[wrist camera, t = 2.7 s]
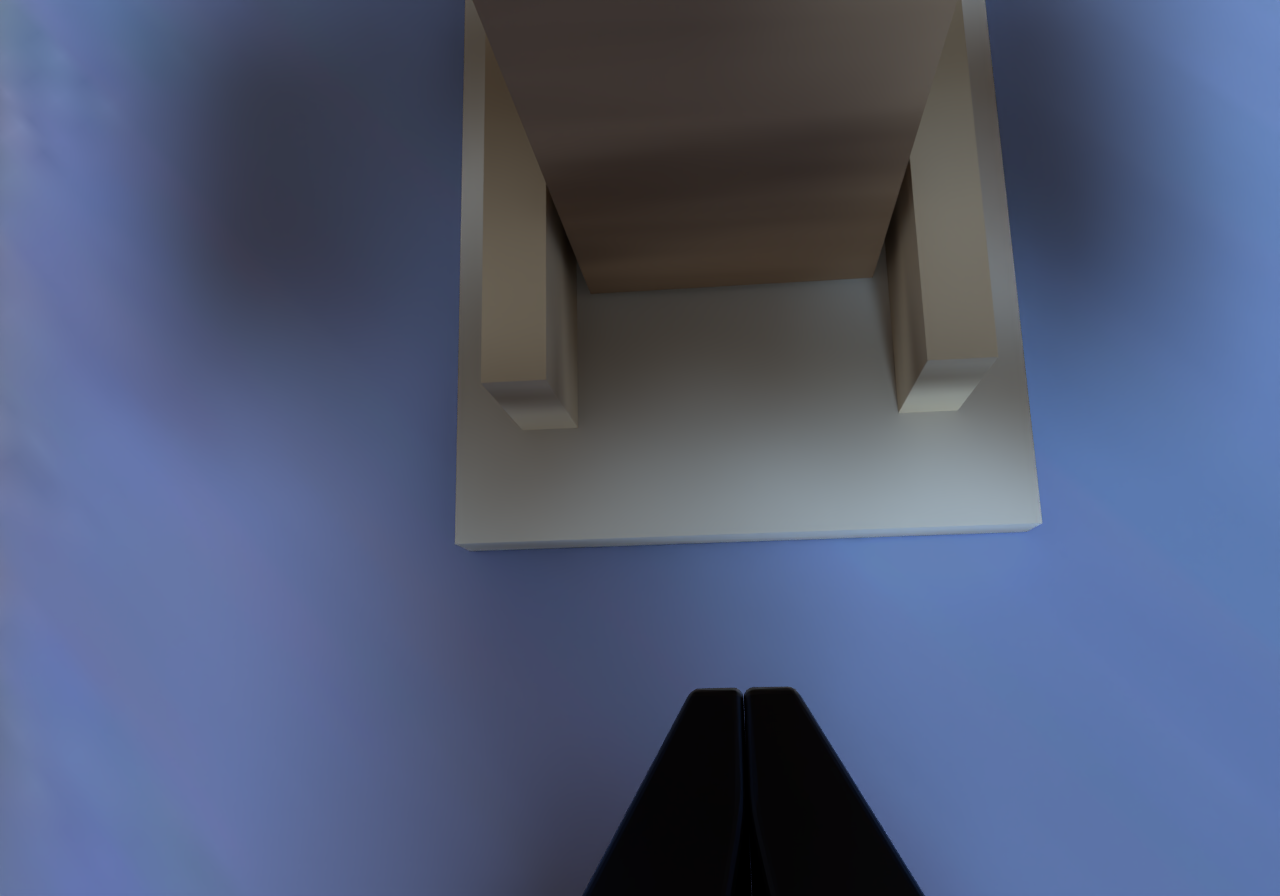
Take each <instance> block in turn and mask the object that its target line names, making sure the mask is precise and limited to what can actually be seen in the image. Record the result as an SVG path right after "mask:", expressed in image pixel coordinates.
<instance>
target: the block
mask: <svg viewBox="0 0 1280 896" xmlns="http://www.w3.org/2000/svg"><path fill="white" fill-rule="evenodd" d="M472 1H473V3H474V5H475V8H476V10H477V13H478V15H479V18H480V20H481V23H482V25H483V28H484V30H485V33H486V35H487V38H488V40H489V43H490V45H491V48H492V50H493V53H494V55H495V58H496V60H497V63H498V65H499V68H500V70H501V73H502V75H503V78H504V80H505V82H506V85H507V87H508V90H509V92H510V95H511V97H512V100H513V102H514V105H515V107H516V110H517V112H518V115H519V117H520V120H521V122H522V125H523V127H524V130H525V132H526V135H527V137H528V140H529V142H530V145H531V147H532V150H533V152H534V155H535V157H536V159H537V162H538V164H539V167H540V169H541V172H542V174H543V177H544V179H545V182H546V184H547V187H548V189H549V192H550V194H551V197H552V199H553V202H554V204H555V207H556V209H557V212H558V214H559V217H560V219H561V222H562V224H563V227H564V229H565V231H566V234H567V236H568V239H569V241H570V244H571V246H572V249H573V251H574V254H575V256H576V259H577V261H578V264H579V266H580V269H581V271H582V274H583V276H584V279H585V281H586V284H587V286H588V289H589V291H590V294H599V293H616V292H633V291H650V290H668V289H685V288H702V287H720V286H737V285H754V284H771V283H789V282H806V281H823V280H841V279H858V278H873V275H874V272H875V269H876V266H877V262H878V259H879V256H880V252H881V249H882V246H883V243H884V239H885V236H886V233H887V230H888V226H889V223H890V220H891V216H892V213H893V210H894V207H895V203H896V200H897V197H898V194H899V190H900V187H901V184H902V181H903V177H904V174H905V171H906V167H907V164H908V161H909V158H910V154H911V151H912V148H913V145H914V141H915V138H916V135H917V132H918V128H919V125H920V122H921V118H922V115H923V112H924V109H925V105H926V102H927V99H928V96H929V92H930V89H931V86H932V82H933V79H934V76H935V73H936V69H937V66H938V63H939V60H940V56H941V53H942V50H943V47H944V43H945V40H946V37H947V33H948V30H949V27H950V24H951V20H952V17H953V14H954V11H955V7H956V4H957V1H958V0H472Z"/></svg>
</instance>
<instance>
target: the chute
mask: <svg viewBox="0 0 1280 896" xmlns="http://www.w3.org/2000/svg"><path fill="white" fill-rule="evenodd" d="M1040 524H1042V516H1041V507H1040V498H1039V489H1038V480H1037V471H1036V461H1035V452H1034V443H1033V434H1032V425H1031V416H1030V407H1029V397H1028V388H1027V379H1026V370H1025V361H1024V352H1023V343H1022V333H1021V324H1020V315H1019V306H1018V297H1017V288H1016V279H1015V269H1014V260H1013V251H1012V242H1011V233H1010V224H1009V215H1008V205H1007V196H1006V187H1005V178H1004V169H1003V160H1002V151H1001V141H1000V132H999V123H998V114H997V105H996V96H995V87H994V77H993V68H992V59H991V50H990V41H989V32H988V23H987V13H986V4H985V0H958V1H957V4H956V7H955V11H954V14H953V17H952V20H951V24H950V27H949V30H948V33H947V37H946V40H945V43H944V47H943V50H942V53H941V56H940V60H939V63H938V66H937V69H936V73H935V76H934V79H933V82H932V86H931V89H930V92H929V96H928V99H927V102H926V105H925V109H924V112H923V115H922V118H921V122H920V125H919V128H918V132H917V135H916V138H915V141H914V145H913V148H912V151H911V154H910V158H909V161H908V164H907V167H906V171H905V174H904V177H903V181H902V184H901V187H900V190H899V194H898V197H897V200H896V203H895V207H894V210H893V213H892V216H891V220H890V223H889V226H888V230H887V233H886V236H885V239H884V243H883V246H882V249H881V252H880V256H879V259H878V262H877V266H876V269H875V272H874V275H873V278H858V279H841V280H823V281H806V282H789V283H771V284H754V285H737V286H720V287H702V288H685V289H668V290H650V291H633V292H616V293H599V294H590V291H589V289H588V286H587V284H586V281H585V279H584V276H583V274H582V271H581V269H580V266H579V264H578V261H577V259H576V256H575V254H574V251H573V249H572V246H571V244H570V241H569V239H568V236H567V234H566V231H565V229H564V227H563V224H562V222H561V219H560V217H559V214H558V212H557V209H556V207H555V204H554V202H553V199H552V197H551V194H550V192H549V189H548V187H547V184H546V182H545V179H544V177H543V174H542V172H541V169H540V167H539V164H538V162H537V159H536V157H535V155H534V152H533V150H532V147H531V145H530V142H529V140H528V137H527V135H526V132H525V130H524V127H523V125H522V122H521V120H520V117H519V115H518V112H517V110H516V107H515V105H514V102H513V100H512V97H511V95H510V92H509V90H508V87H507V85H506V82H505V80H504V78H503V75H502V73H501V70H500V68H499V65H498V63H497V60H496V58H495V55H494V53H493V50H492V48H491V45H490V43H489V40H488V38H487V35H486V33H485V30H484V28H483V25H482V23H481V20H480V18H479V15H478V13H477V10H476V8H475V5H474V3H473V1H472V0H465V34H464V87H463V141H462V194H461V247H460V300H459V354H458V407H457V460H456V513H455V544H456V545H458V546H460V547H462V548H464V549H466V550H468V551H488V550H516V549H545V548H574V547H603V546H631V545H660V544H689V543H718V542H746V541H775V540H804V539H832V538H861V537H890V536H919V535H947V534H976V533H1005V532H1027V531H1029V530H1031V529H1033V528H1034V527H1036V526H1038V525H1040Z"/></svg>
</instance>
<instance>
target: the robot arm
mask: <svg viewBox="0 0 1280 896" xmlns="http://www.w3.org/2000/svg"><path fill="white" fill-rule="evenodd" d="M744 716H745V723H744ZM745 743H746V744H745ZM750 860H751V863H750ZM751 881H752V888H751ZM582 896H925V895H924V894H923V892H922V890H921V889H920V887H919V886H918V884H917V882H916V881H915V879H914V877H913V876H912V874H911V873H910V871H909V869H908V868H907V866H906V865H905V863H904V861H903V860H902V858H901V857H900V855H899V853H898V852H897V850H896V849H895V847H894V845H893V844H892V842H891V840H890V839H889V837H888V836H887V834H886V832H885V831H884V829H883V828H882V826H881V824H880V823H879V821H878V820H877V818H876V816H875V815H874V813H873V811H872V810H871V808H870V807H869V805H868V803H867V802H866V800H865V799H864V797H863V795H862V794H861V792H860V791H859V789H858V787H857V786H856V784H855V782H854V781H853V779H852V778H851V776H850V774H849V773H848V771H847V770H846V768H845V766H844V765H843V763H842V762H841V760H840V758H839V757H838V755H837V754H836V752H835V750H834V749H833V747H832V745H831V744H830V742H829V741H828V739H827V737H826V736H825V734H824V733H823V731H822V729H821V728H820V726H819V725H818V723H817V721H816V720H815V718H814V716H813V715H812V713H811V712H810V710H809V708H808V707H807V705H806V704H805V702H804V700H803V699H802V697H801V696H800V694H799V693H798V692H797V691H796V690H795V689H793V688H791V687H753V688H749V689H748V690H746V692H745V694H744V702H743V694H742V693H741V691H740V690H738V689H737V688H704V689H695V690H694V691H692V692H691V693H690V694H689V696H688V697H687V699H686V701H685V703H684V704H683V706H682V708H681V710H680V712H679V714H678V716H677V718H676V720H675V721H674V723H673V725H672V727H671V729H670V731H669V733H668V735H667V737H666V738H665V740H664V742H663V744H662V746H661V748H660V750H659V752H658V754H657V755H656V757H655V759H654V761H653V763H652V765H651V767H650V769H649V771H648V772H647V774H646V776H645V778H644V780H643V782H642V784H641V786H640V788H639V789H638V791H637V793H636V795H635V797H634V799H633V801H632V803H631V805H630V806H629V808H628V810H627V812H626V814H625V816H624V818H623V820H622V822H621V823H620V825H619V827H618V829H617V831H616V833H615V835H614V837H613V839H612V840H611V842H610V844H609V846H608V848H607V850H606V852H605V854H604V856H603V857H602V859H601V861H600V863H599V865H598V867H597V869H596V871H595V872H594V874H593V876H592V878H591V880H590V882H589V884H588V886H587V888H586V889H585V891H584V893H583V895H582Z"/></svg>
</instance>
